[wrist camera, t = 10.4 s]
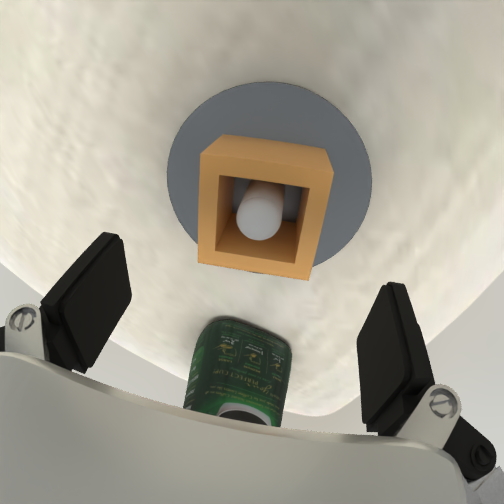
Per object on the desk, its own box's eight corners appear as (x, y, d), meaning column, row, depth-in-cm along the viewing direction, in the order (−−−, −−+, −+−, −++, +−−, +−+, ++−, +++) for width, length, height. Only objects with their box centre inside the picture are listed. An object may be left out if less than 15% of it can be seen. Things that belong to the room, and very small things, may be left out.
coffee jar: (190, 349, 33) (137, 505, 17) (216, 305, 29) (154, 501, 13) (267, 380, 34) (244, 532, 19) (305, 344, 30) (292, 529, 14)
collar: (325, 148, 18) (334, 172, 14) (307, 237, 22) (308, 280, 18) (223, 134, 19) (200, 153, 15) (217, 223, 22) (197, 262, 18)
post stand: (386, 104, 17) (427, 121, 11) (341, 275, 25) (349, 341, 19) (178, 75, 18) (126, 79, 12) (175, 248, 26) (140, 304, 20)
